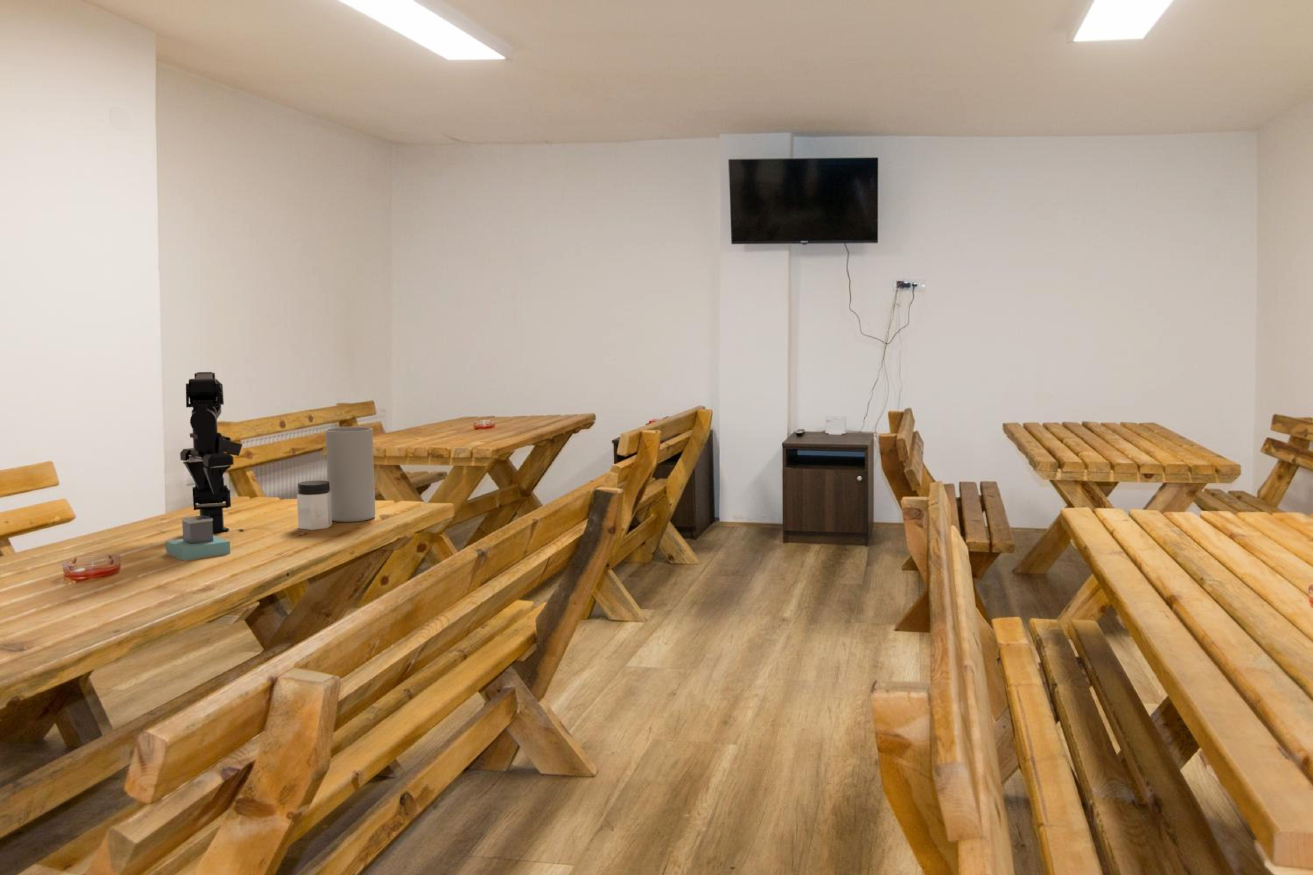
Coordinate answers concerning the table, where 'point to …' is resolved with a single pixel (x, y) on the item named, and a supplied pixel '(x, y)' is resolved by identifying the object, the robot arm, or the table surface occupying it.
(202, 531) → the tin
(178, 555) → the teal box
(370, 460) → the cylinder vase
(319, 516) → the jar
